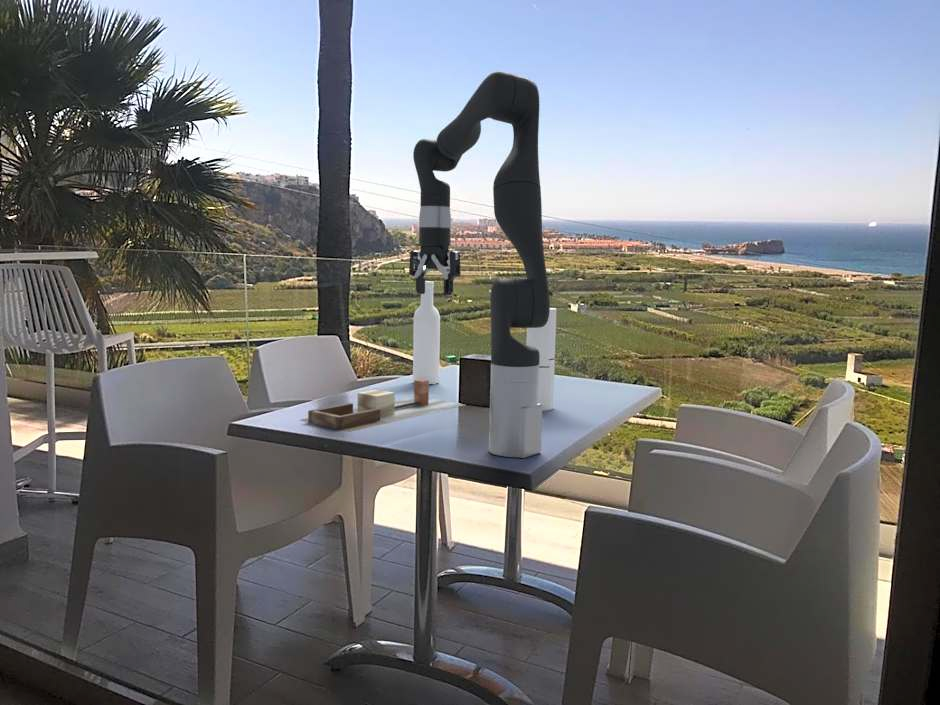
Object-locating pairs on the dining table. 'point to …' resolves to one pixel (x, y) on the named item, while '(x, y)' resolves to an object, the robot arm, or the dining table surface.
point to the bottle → (426, 338)
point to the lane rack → (372, 414)
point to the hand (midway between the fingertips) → (434, 294)
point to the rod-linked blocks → (392, 399)
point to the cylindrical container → (545, 358)
